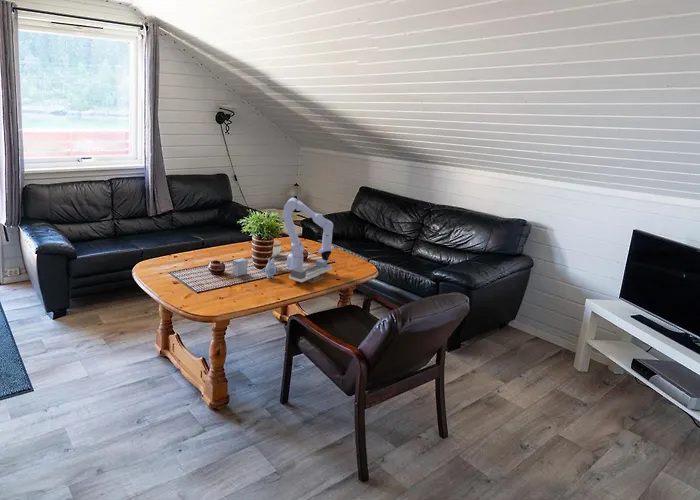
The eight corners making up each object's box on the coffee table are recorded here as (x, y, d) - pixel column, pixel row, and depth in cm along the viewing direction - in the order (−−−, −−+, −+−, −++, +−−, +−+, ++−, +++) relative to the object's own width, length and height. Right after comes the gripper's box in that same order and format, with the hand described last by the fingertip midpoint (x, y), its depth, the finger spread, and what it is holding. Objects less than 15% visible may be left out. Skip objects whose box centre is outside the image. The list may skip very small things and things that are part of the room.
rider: (315, 266, 309) (316, 260, 308) (320, 265, 313) (321, 258, 312) (322, 268, 307) (322, 262, 306) (326, 266, 311) (327, 260, 310)
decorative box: (270, 259, 328) (271, 243, 325) (257, 254, 335) (258, 238, 332) (284, 256, 338) (285, 240, 334) (271, 251, 345) (272, 235, 341)
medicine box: (241, 271, 302) (242, 257, 299) (247, 273, 299) (248, 259, 297) (231, 274, 295) (232, 260, 293) (237, 276, 293) (237, 262, 290)
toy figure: (262, 280, 291) (263, 260, 288) (259, 276, 297) (260, 256, 293) (280, 279, 296) (281, 259, 293) (277, 275, 302) (278, 256, 298)
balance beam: (287, 282, 292) (288, 268, 290) (318, 269, 319) (319, 256, 316) (302, 287, 287) (303, 273, 284) (333, 274, 314) (334, 261, 311)
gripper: (325, 245, 301) (323, 266, 305) (338, 240, 313) (336, 261, 317) (316, 242, 304) (314, 263, 308) (329, 237, 316) (327, 258, 320)
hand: (324, 262), depth 313 cm, fingers closed
